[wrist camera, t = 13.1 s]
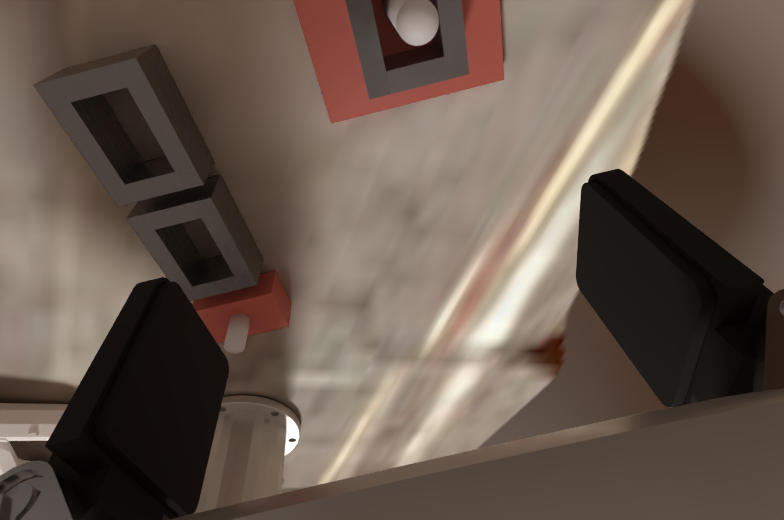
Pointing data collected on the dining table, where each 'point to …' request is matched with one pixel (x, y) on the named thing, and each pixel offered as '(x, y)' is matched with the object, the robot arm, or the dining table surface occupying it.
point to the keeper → (394, 50)
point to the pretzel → (25, 427)
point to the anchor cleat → (245, 312)
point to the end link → (409, 51)
